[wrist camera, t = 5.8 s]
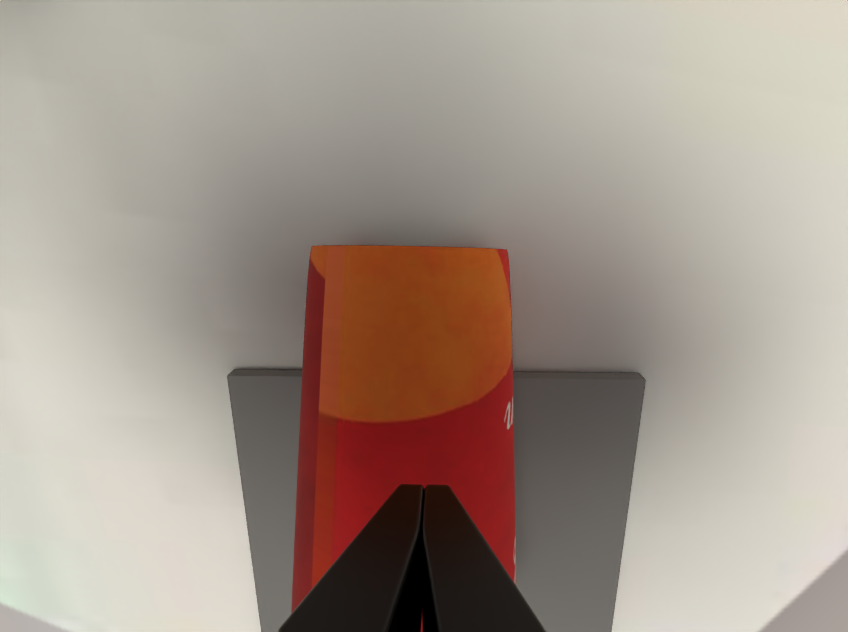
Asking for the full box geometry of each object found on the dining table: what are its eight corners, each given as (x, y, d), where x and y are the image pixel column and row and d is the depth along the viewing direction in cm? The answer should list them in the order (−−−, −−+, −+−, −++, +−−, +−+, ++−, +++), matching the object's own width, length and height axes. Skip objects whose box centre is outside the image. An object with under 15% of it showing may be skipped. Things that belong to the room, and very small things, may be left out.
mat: (234, 369, 18) (227, 376, 17) (639, 373, 17) (645, 379, 17) (268, 635, 22) (263, 647, 21) (603, 644, 21) (607, 658, 20)
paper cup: (413, 251, 19) (408, 576, 21) (219, 244, 14) (234, 686, 15) (605, 252, 13) (576, 694, 15) (406, 242, 8) (397, 933, 10)
